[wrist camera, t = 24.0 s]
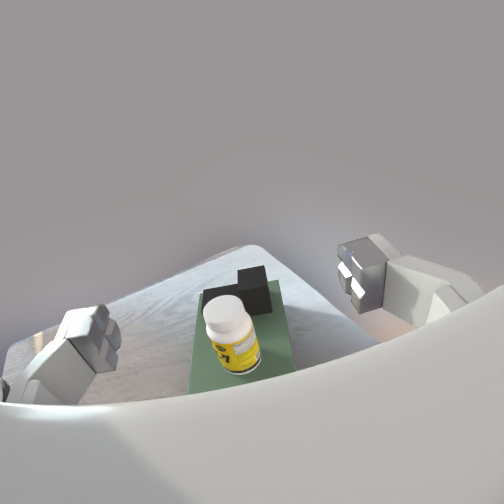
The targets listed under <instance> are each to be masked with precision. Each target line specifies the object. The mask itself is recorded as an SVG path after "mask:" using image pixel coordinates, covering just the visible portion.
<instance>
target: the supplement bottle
mask: <svg viewBox="0 0 504 504" xmlns="http://www.w3.org/2000/svg"><path fill="white" fill-rule="evenodd" d="M203 316H204V319H205V322H206V331H207V335H208V337H209V339H210V341H211V343H212V346H213V348H214V350H215V352H216V354H217V356H218V358H219V361H220V363H221V365H222V367H223V368H224V369H225V370H226V371H227V372H229V373H231V374H234V375H243V374H247V373H249V372H251V371H253V370H254V369H255V368H256V367H257V366H258V365H259V363H260V361H261V351H260V347H259V344H258V341H257V337H256V334H255V330H254V327H253V323H252V320H251V317H250V316H249V314H248V313H247V312H245V309H244V306H243V303H242V301H241V300H240V299H239V298H238V297H236V296H232V295H223V296H219V297H216V298H214V299H212V300H211V301H209V302H208V303H207V304H206V306H205V307H204V310H203Z"/></svg>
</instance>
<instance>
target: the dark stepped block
mask: <svg viewBox="0 0 504 504" xmlns="http://www.w3.org/2000/svg"><path fill="white" fill-rule="evenodd" d="M223 295H232V296H236V297H238V298H239V299H240V300H241V301H242V303H243V306H244V309H245V312H247V313H248V314H249V316H256V315H261V314H267V313H272V312H273V311H272V304H271V297H270V291H269V286H268V281H267V277H266V272H265V267H264V265H263V266H258V267H253V268H247V269H242V270H238V284H233V285H228V286H222V287H217V288H211V289H205V290H203V298H202V306H201V313H202V315H203V310H204V307H205V306H206V304H207V303H208V302H209V301H211V300H212V299H214V298H216V297H219V296H223ZM203 317H204V316H203ZM204 320H205V319H204Z"/></svg>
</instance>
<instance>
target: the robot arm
mask: <svg viewBox="0 0 504 504" xmlns="http://www.w3.org/2000/svg"><path fill="white" fill-rule="evenodd" d="M338 257H339V258H340V260H341V263H340V265H339V266H338V271H339V278H340V282H341V285H342V287H343V289H344V291H345V293H347V294H349V295H351V302H352V304H353V305H354V307H355V308H356V310H357V311H358V313H359V314H362V313H365V312H368V311H372V310H375V309H378V308H381V307H382V308H383V309H384V310H386V311H388V312H390V313H392V314H393V315H395V316H397V317H399V318H401V319H402V320H404V321H406V322H408V323H410V324H411V325H413V326H415V327H417V329H414V330H412V331H410V332H408V333H405V334H403V335H400V336H398V337H396V338H393V339H391V340H388V341H386V342H383V343H380V344H378V345H375V346H373V347H370V348H367V349H364V350H362V351H359V352H356V353H353V354H350V355H348V356H345V357H342V358H339V359H336V360H332V361H329V362H326V363H323V364H320V365H316V366H313V367H310V368H306V369H303V370H299V371H296V372H292V373H288V374H285V375H281V376H277V377H273V378H269V379H265V380H261V381H257V382H252V383H248V384H243V385H239V386H234V387H229V388H224V389H219V390H214V391H208V392H203V393H197V394H191V395H184V396H177V397H170V398H163V399H154V400H145V401H135V402H124V403H109V404H89V405H77V404H78V402H79V401H80V399H81V397H82V396H83V394H84V393H85V391H86V390H87V388H88V387H89V385H90V384H91V382H92V381H93V379H94V378H95V376H96V375H97V373H104V372H110V371H115V370H116V365H117V361H118V355H117V353H116V351H117V350H118V349H119V348H120V347H121V341H122V339H121V332H120V329H119V327H118V325H117V323H116V322H115V321H114V320H112V319H110V318H109V313H110V312H109V311H108V309H107V308H106V306H105V305H103V304H97V305H92V306H87V307H83V308H77V309H73V310H70V311H68V312H67V313H66V315H65V317H64V319H63V322H62V324H61V326H60V328H59V331H58V333H57V335H56V337H55V340H54V341H51V342H50V343H49V344H48V345H47V346H46V347H45V348H44V349H43V350H42V351H41V352H40V353H39V354H38V355H37V356H36V357H35V358H34V359H33V360H32V361H31V362H30V363H29V364H28V365H27V366H26V367H25V368H24V369H23V370H22V372H21V373H20V374H19V375H18V376H17V377H16V378H15V379H14V381H13V384H12V386H10V385H9V384H8V383H7V382H6V381H4V380H3V379H2V378H1V377H0V504H504V284H503V285H501V286H499V287H498V288H496V289H494V290H492V291H491V292H489V293H487V292H486V291H485V290H484V289H483V288H482V287H481V286H480V285H479V284H478V283H477V282H476V281H475V280H474V279H472V277H470V276H469V275H468V274H467V273H464V272H461V271H458V270H455V269H451V268H448V267H445V266H442V265H439V264H436V263H432V262H429V261H426V260H423V259H420V258H416V257H413V256H410V255H407V256H404V255H403V254H402V253H401V252H399V250H398V249H396V248H395V247H394V246H393V245H392V244H391V243H390V242H389V241H388V240H387V239H386V238H385V237H384V236H383V235H382V234H380V233H376V234H373V235H370V236H366V237H364V238H361V239H357V240H354V241H350V242H347V243H343V244H340V245H338Z"/></svg>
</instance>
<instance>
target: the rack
mask: <svg viewBox="0 0 504 504" xmlns="http://www.w3.org/2000/svg"><path fill="white" fill-rule="evenodd" d="M268 286H269V291H270V297H271V304H272V311H273V312H272V313H267V314H261V315H256V316H250V317H251V320H252V323H253V327H254V330H255V334H256V337H257V341H258V344H259V347H260V351H261V361H260V363H259V365H258V366H257V367H256V368H255V369H254V370H253V371H251V372H249V373H247V374H243V375H234V374H231V373H229V372H227V371H226V370H225V369H224V368H223V367H222V365H221V363H220V361H219V358H218V356H217V354H216V352H215V350H214V348H213V346H212V343H211V341H210V339H209V337H208V335H207V331H206V322H205V320H204V317H203V315H202V313H201V306H202V298H203V294H200V298H199V305H198V312H197V320H196V327H195V335H194V343H193V352H192V360H191V369H190V378H189V388H188V395H191V394H197V393H203V392H208V391H214V390H219V389H224V388H229V387H234V386H239V385H243V384H248V383H252V382H257V381H261V380H265V379H269V378H273V377H277V376H281V375H285V374H288V373H292V372H296V371H295V366H294V360H293V355H292V349H291V344H290V339H289V333H288V328H287V323H286V317H285V312H284V307H283V302H282V297H281V291H280V286H279V281H278V280H274V281H269V282H268Z"/></svg>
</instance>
